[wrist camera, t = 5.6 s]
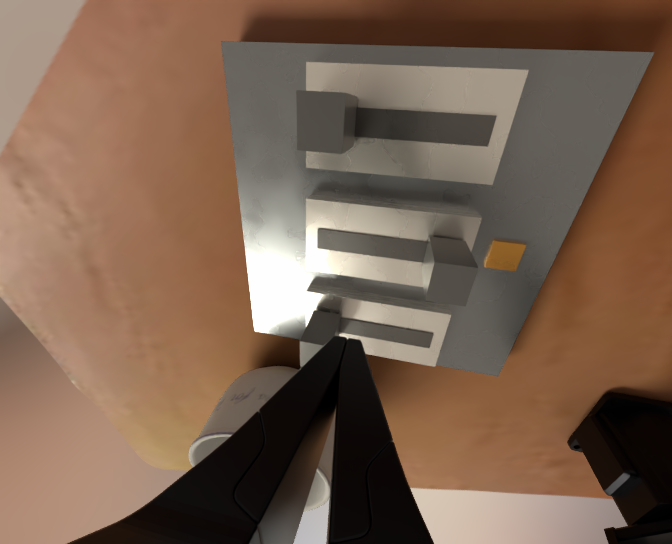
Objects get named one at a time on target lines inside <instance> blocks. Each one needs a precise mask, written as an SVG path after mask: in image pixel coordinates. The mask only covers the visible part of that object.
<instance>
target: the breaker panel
mask: <svg viewBox="0 0 672 544" xmlns="http://www.w3.org/2000/svg"><path fill="white" fill-rule="evenodd" d="M221 44H222V53H223V62H224V70H225V79H226V88H227V96H228V105H229V114H230V122H231V131H232V140H233V148H234V157H235V166H236V174H237V183H238V192H239V201H240V209H241V218H242V227H243V235H244V244H245V253H246V261H247V270H248V279H249V287H250V296H251V305H252V313H253V322H254V331H256V332H262V333H267V334H272V335H278V336H283V337H288V338H294V339H299V340H301V337H302V335H303V333H304V331H305V329H306V326H307V324H308V322H309V320H310V317H311V315H312V313H313V311H314V310H317V311H323V312H329V313H335V314H341V320H340V333H339V336H342V337H346V338H347V339H348V338H353V339H359V340H361V342H362V345H363V348H364V351H365V354H369V355H374V356H380V357H385V358H390V359H396V360H401V361H406V362H412V363H417V364H422V365H428V366H433V367H435V365H438V366H444V367H449V368H454V369H460V370H465V371H470V372H476V373H481V374H486V375H492V376H497V377H498V376H499V374H500V372H501V369H502V367H503V365H504V363H505V361H506V359H507V357H508V355H509V353H510V351H511V349H512V347H513V345H514V342H515V340H516V338H517V336H518V334H519V332H520V330H521V328H522V326H523V324H524V322H525V320H526V318H527V316H528V313H529V311H530V309H531V307H532V305H533V303H534V301H535V299H536V297H537V295H538V293H539V291H540V289H541V286H542V284H543V282H544V280H545V278H546V276H547V274H548V272H549V270H550V268H551V266H552V264H553V262H554V260H555V257H556V255H557V253H558V251H559V249H560V247H561V245H562V243H563V241H564V239H565V237H566V235H567V233H568V230H569V228H570V226H571V224H572V222H573V220H574V218H575V216H576V214H577V212H578V210H579V208H580V206H581V204H582V201H583V199H584V197H585V195H586V193H587V191H588V189H589V187H590V185H591V183H592V181H593V179H594V177H595V174H596V172H597V170H598V168H599V166H600V164H601V162H602V160H603V158H604V156H605V154H606V152H607V150H608V148H609V145H610V143H611V141H612V139H613V137H614V135H615V133H616V131H617V129H618V127H619V125H620V123H621V121H622V118H623V116H624V114H625V112H626V110H627V108H628V106H629V104H630V102H631V100H632V98H633V96H634V94H635V91H636V89H637V87H638V85H639V83H640V81H641V79H642V77H643V75H644V73H645V71H646V69H647V67H648V65H649V62H650V60H651V58H652V56H653V54H654V52H624V51H585V50H546V49H507V48H468V47H429V46H390V45H351V44H312V43H273V42H234V41H221ZM296 90H304V91H323V92H343V93H348V94H351V95H354V96H357V110H356V124H355V137H354V146H353V147H352V148H351V149H349V150H348V151H346V152H345V153H343V154H335V153H323V152H311V151H299V150H297V104H296ZM429 236H430V237H438V238H446V239H455V240H463V241H466V243H467V245H468V247H469V249H470V251H471V253H472V255H473V257H474V259H475V261H476V264H477V266H478V268H479V269H478V272H477V275H476V278H475V281H474V283H473V286H472V289H471V292H470V295H469V298H468V301H467V304H466V307H465V306H458V305H452V304H446V303H439V302H433V301H426V300H425V296H424V287H423V279H422V266H423V261H424V257H425V252H426V248H427V244H428V239H429Z"/></svg>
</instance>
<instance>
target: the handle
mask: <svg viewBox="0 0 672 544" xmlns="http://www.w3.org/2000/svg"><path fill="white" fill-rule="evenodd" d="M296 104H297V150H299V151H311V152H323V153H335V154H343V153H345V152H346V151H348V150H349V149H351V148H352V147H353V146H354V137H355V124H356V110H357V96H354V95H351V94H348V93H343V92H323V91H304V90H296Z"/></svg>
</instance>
